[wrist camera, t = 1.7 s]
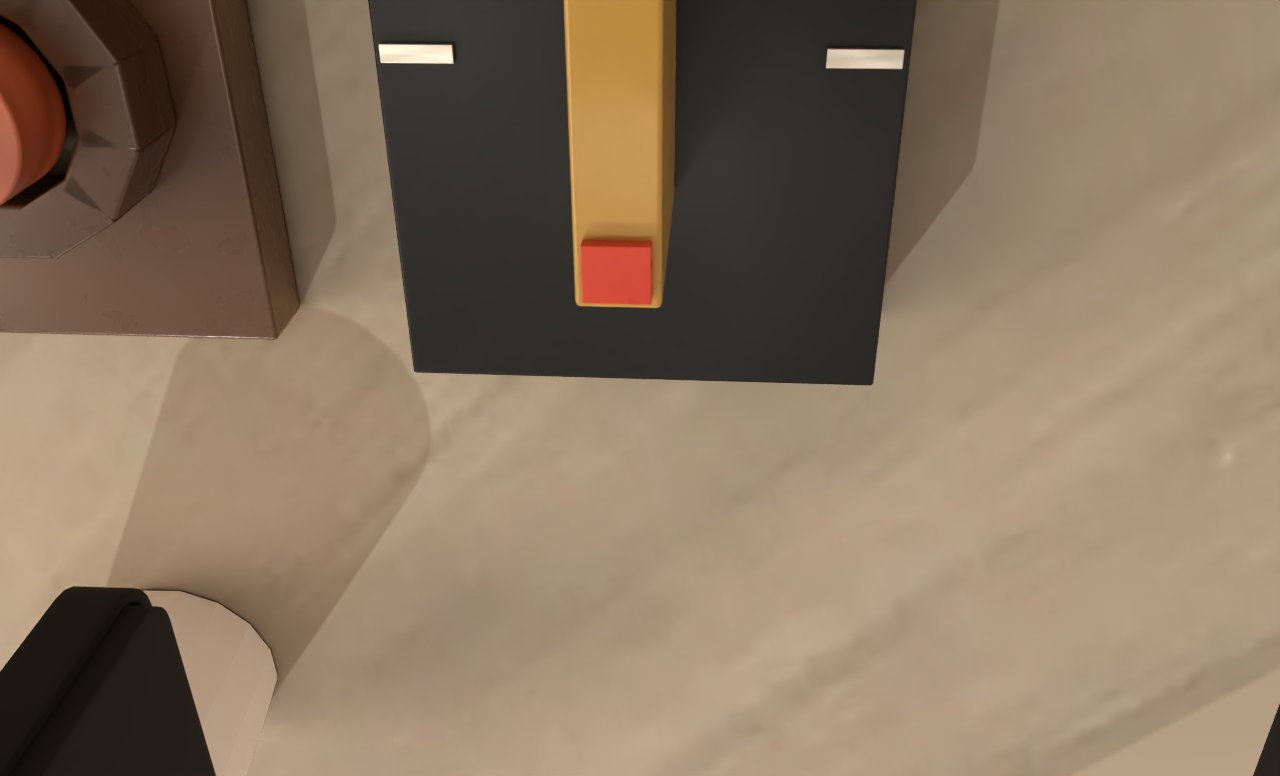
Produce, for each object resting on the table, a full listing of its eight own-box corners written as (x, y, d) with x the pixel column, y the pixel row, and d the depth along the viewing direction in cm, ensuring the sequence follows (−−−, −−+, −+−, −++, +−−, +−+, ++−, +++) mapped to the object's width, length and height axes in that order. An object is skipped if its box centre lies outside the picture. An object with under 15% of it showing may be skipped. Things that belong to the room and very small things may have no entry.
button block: (-248, -255, 22) (-399, -249, 19) (201, -257, 22) (117, -252, 19) (-54, 299, 28) (-146, 368, 25) (301, 308, 28) (249, 380, 25)
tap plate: (369, -386, 20) (314, -400, 18) (933, -393, 20) (966, -409, 17) (443, 311, 28) (411, 377, 25) (859, 322, 27) (874, 390, 24)
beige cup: (298, 594, 33) (201, 794, 27) (297, 757, 36) (211, 966, 30) (58, 554, 32) (-94, 746, 26) (81, 721, 36) (-49, 924, 30)
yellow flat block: (596, -106, 20) (557, -52, 15) (677, -106, 20) (662, -51, 15) (604, 194, 23) (573, 314, 18) (674, 196, 22) (660, 317, 18)
